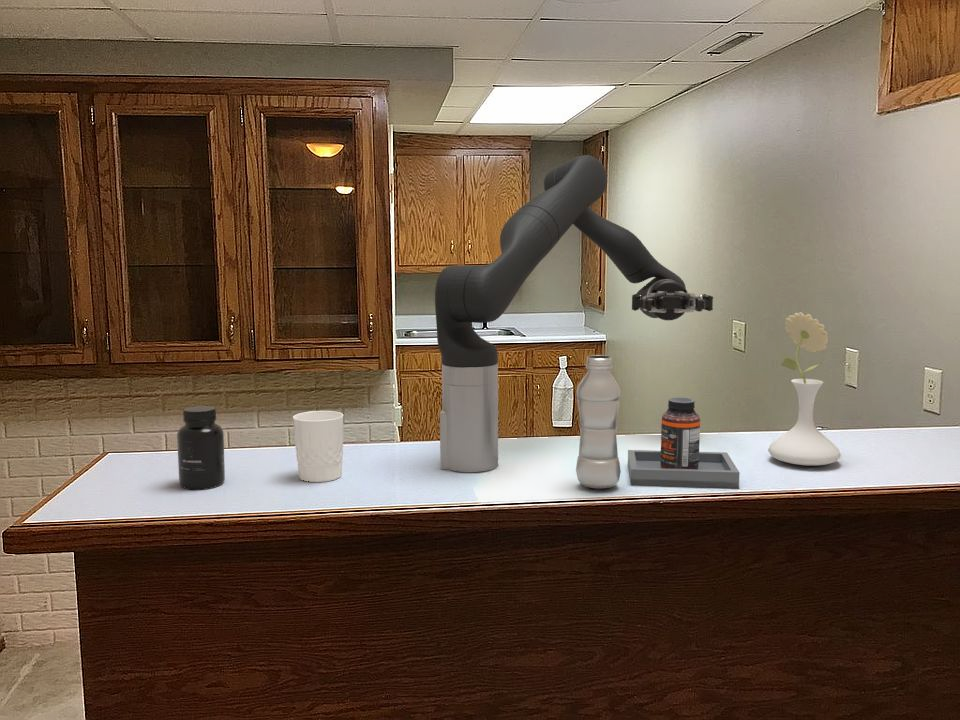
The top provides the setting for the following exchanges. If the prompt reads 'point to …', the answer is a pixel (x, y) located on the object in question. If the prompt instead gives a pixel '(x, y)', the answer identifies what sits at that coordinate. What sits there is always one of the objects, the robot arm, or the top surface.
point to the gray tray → (683, 471)
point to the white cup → (319, 445)
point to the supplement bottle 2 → (680, 435)
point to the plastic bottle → (598, 425)
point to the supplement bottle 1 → (200, 449)
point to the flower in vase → (805, 401)
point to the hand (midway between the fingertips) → (674, 305)
